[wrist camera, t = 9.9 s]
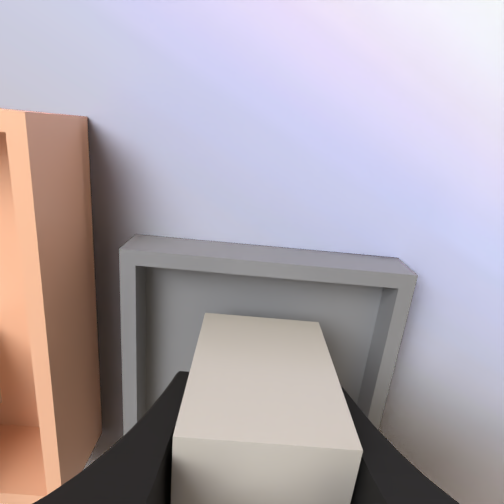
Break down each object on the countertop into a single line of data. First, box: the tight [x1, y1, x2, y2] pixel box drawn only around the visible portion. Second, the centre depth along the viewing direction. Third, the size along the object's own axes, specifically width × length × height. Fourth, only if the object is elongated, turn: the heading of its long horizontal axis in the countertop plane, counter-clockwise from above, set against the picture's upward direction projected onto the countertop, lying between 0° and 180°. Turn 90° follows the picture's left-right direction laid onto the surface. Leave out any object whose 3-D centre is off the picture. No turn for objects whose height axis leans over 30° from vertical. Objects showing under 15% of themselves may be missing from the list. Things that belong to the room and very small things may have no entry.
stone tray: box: [119, 234, 418, 436], centre depth 17 cm, size 16×11×2 cm
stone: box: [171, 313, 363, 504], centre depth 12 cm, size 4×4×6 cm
